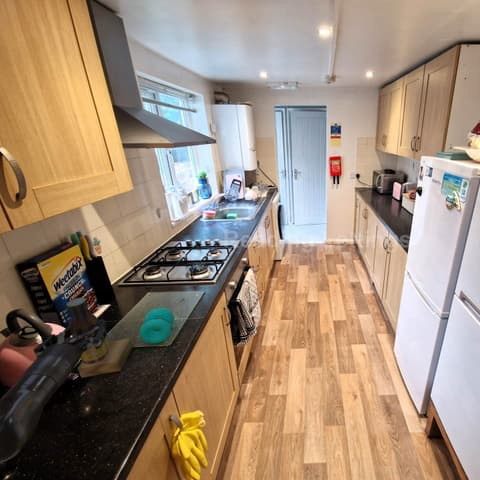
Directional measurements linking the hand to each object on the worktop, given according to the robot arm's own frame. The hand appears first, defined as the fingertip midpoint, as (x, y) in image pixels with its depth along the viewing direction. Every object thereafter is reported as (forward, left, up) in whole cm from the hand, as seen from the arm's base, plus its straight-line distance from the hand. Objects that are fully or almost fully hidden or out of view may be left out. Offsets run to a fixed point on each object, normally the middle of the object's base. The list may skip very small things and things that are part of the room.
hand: (88, 323), depth 76 cm
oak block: (-6, +7, -22) cm, 23 cm away
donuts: (+4, +20, -22) cm, 30 cm away
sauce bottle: (0, -2, -11) cm, 11 cm away
